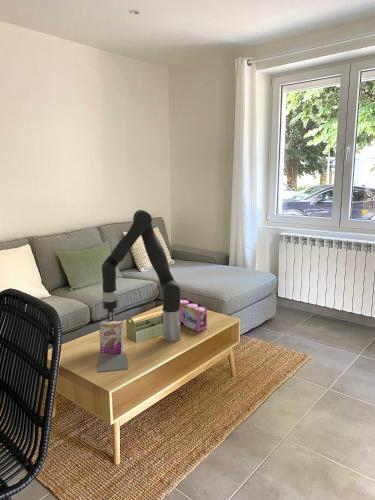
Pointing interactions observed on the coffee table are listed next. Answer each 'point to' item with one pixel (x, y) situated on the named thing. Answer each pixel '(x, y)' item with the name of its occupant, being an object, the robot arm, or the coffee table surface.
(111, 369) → the mat
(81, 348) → the coffee table surface
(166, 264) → the robot arm
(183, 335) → the coffee table surface
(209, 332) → the coffee table surface
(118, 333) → the candy bar box
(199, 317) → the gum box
